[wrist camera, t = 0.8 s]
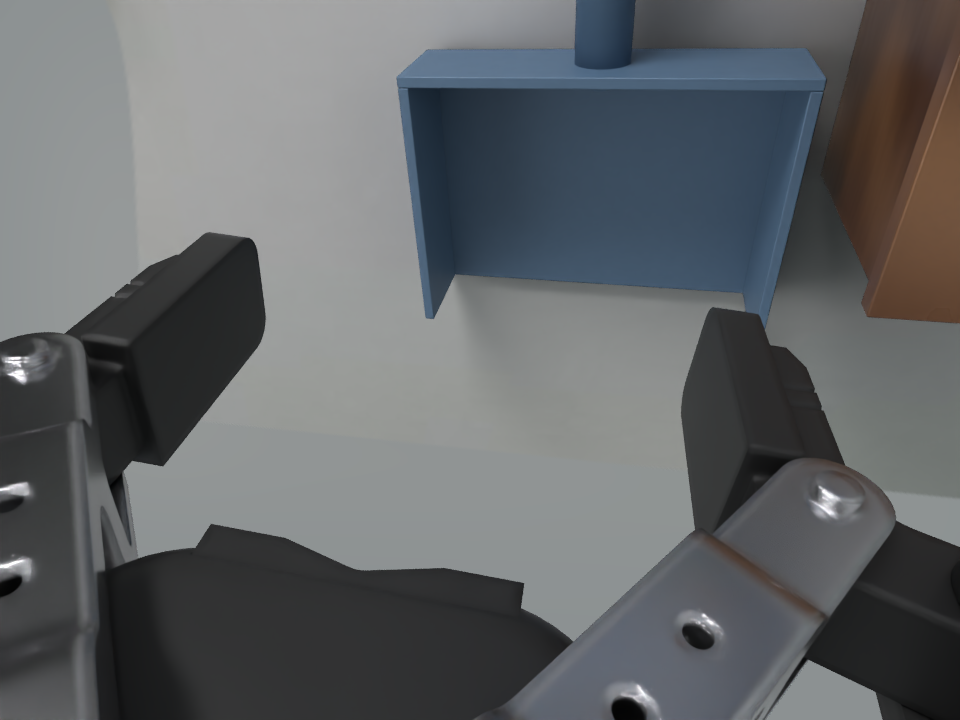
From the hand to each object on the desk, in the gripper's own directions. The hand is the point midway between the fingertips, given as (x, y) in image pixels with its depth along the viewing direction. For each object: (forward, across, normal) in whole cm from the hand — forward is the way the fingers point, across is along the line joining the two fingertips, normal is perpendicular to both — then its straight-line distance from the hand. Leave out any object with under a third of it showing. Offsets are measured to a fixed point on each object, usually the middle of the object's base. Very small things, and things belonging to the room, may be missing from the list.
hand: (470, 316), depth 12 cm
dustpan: (+19, -2, -1) cm, 19 cm away
